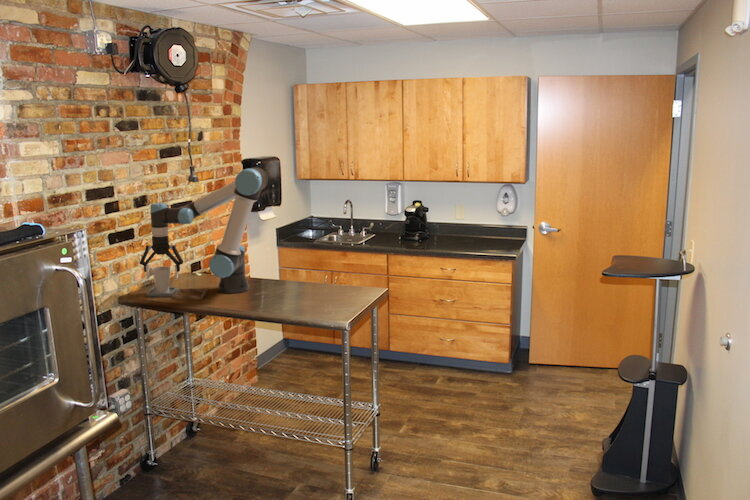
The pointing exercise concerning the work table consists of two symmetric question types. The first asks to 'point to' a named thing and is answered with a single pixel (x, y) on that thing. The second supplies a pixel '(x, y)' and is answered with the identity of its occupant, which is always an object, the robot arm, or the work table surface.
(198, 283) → the work table surface
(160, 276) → the cup
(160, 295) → the tray
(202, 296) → the holder frame
